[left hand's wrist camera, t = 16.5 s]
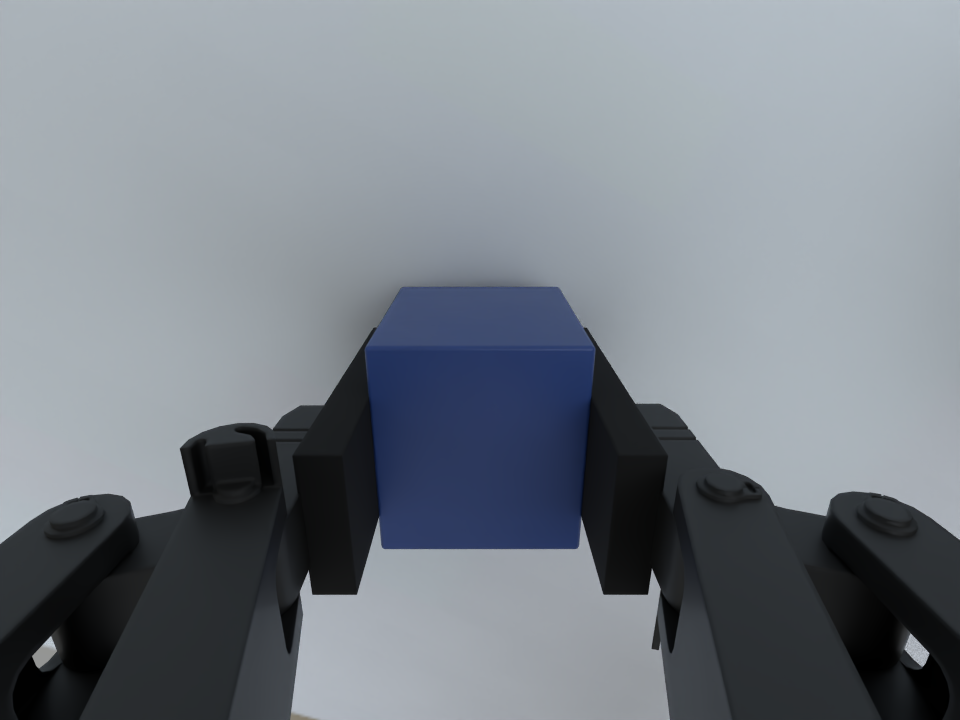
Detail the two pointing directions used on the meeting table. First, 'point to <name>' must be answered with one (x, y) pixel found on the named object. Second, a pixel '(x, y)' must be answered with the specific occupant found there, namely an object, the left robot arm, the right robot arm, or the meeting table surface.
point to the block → (480, 418)
